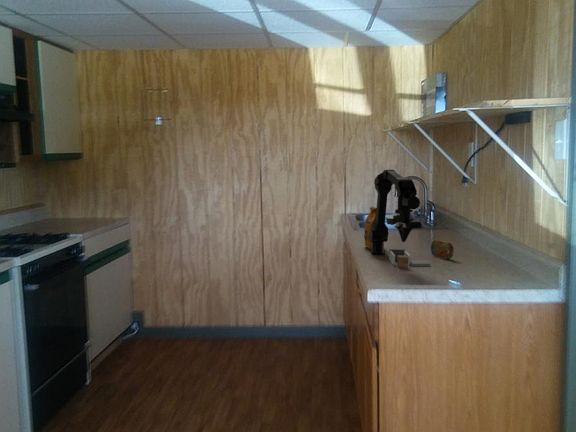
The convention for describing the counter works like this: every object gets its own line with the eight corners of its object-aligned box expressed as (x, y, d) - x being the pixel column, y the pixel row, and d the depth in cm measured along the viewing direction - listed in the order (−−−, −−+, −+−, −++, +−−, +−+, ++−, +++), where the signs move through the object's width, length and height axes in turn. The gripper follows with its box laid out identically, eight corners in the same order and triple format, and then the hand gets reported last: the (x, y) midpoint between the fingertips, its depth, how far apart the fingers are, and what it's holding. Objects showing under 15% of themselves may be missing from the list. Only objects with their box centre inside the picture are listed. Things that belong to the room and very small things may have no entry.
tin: (430, 255, 277) (430, 238, 276) (435, 254, 278) (436, 238, 277) (448, 260, 263) (449, 243, 262) (454, 260, 264) (455, 243, 263)
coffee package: (366, 250, 289) (367, 208, 286) (362, 246, 301) (363, 206, 299) (385, 250, 289) (386, 208, 287) (381, 246, 302) (381, 206, 299)
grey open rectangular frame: (389, 259, 266) (389, 249, 266) (405, 259, 266) (405, 249, 266) (393, 265, 254) (393, 254, 253) (410, 265, 253) (410, 254, 253)
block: (397, 266, 251) (397, 255, 251) (406, 266, 251) (406, 255, 251) (399, 268, 247) (399, 257, 247) (408, 268, 247) (408, 257, 247)
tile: (409, 262, 259) (409, 260, 259) (426, 262, 259) (426, 260, 259) (412, 266, 251) (412, 263, 251) (430, 266, 251) (430, 263, 251)
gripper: (377, 206, 252) (376, 240, 254) (401, 210, 235) (400, 246, 237) (397, 205, 257) (397, 238, 259) (422, 208, 240) (422, 244, 242)
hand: (403, 242), depth 249 cm, fingers closed
